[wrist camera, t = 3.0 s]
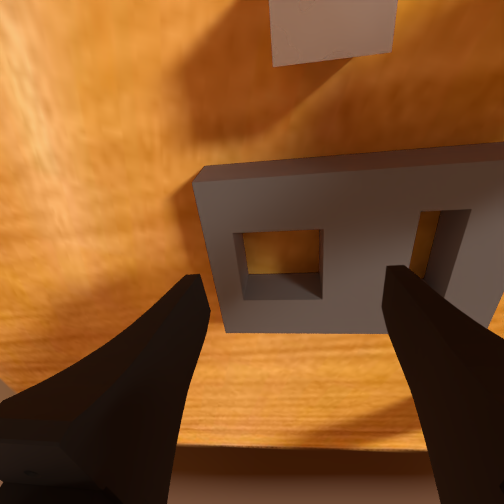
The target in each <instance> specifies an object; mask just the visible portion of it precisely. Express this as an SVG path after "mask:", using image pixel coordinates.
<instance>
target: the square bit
mask: <svg viewBox="0 0 504 504" xmlns="http://www.w3.org/2000/svg"><path fill="white" fill-rule="evenodd" d="M397 2H398V0H269V12H270V28H271V44H272V61H273V67H278V66H286V65H294V64H302V63H310V62H318V61H326V60H334V59H342V58H350V57H358V56H366V55H374V54H382V53H389V52H392V44H393V36H394V28H395V19H396V11H397Z"/></svg>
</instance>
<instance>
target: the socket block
mask: <svg viewBox="0 0 504 504" xmlns="http://www.w3.org/2000/svg"><path fill="white" fill-rule="evenodd" d="M192 186H193V190H194V195H195V199H196V204H197V208H198V212H199V217H200V221H201V226H202V230H203V234H204V239H205V243H206V248H207V252H208V256H209V261H210V265H211V270H212V274H213V279H214V283H215V287H216V292H217V296H218V301H219V305H220V309H221V314H222V318H223V323H224V327H225V331H226V333H323V334H388V332H387V328H386V324H385V320H384V316H383V312H382V308H381V305H382V297H383V289H384V281H385V273H386V266H390V265H405V266H406V267H407V268H409V265H410V260H411V256H412V251H413V246H414V241H415V237H416V232H417V227H418V222H419V218H420V213H421V212H422V211H441V214H440V218H439V221H438V225H437V229H436V233H435V237H434V241H433V245H432V249H431V253H430V257H429V261H428V265H427V269H426V273H425V277H424V279H422V280H423V281H424V282H425V283H426V284H427V285H429V286H430V287H431V288H432V289H433V290H435V291H436V292H437V293H438V294H440V295H441V296H442V297H443V298H445V299H446V300H447V301H449V302H450V303H451V304H452V305H454V306H455V307H456V308H458V309H459V310H461V311H462V312H463V313H465V314H466V315H468V316H469V317H470V318H472V319H473V320H475V321H476V322H478V323H479V324H481V325H482V326H484V327H485V328H488V326H489V324H490V321H491V319H492V317H493V315H494V312H495V310H496V308H497V306H498V303H499V301H500V299H501V297H502V294H503V292H504V142H496V143H484V144H472V145H459V146H447V147H434V148H422V149H409V150H397V151H385V152H372V153H360V154H347V155H335V156H322V157H310V158H298V159H285V160H273V161H260V162H248V163H235V164H223V165H211V166H204V167H203V169H202V170H201V171H200V173H199V174H198V175H197V176H196V178H195V179H194V180H193V182H192ZM314 229H319V273H285V274H248V268H247V261H246V254H245V247H244V240H243V233H248V232H270V231H292V230H314Z"/></svg>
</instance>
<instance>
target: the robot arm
mask: <svg viewBox="0 0 504 504" xmlns="http://www.w3.org/2000/svg"><path fill="white" fill-rule="evenodd" d="M381 308H382V312H383V316H384V320H385V324H386V328H387V332H388V334H389V337H390V339H391V342H392V345H393V347H394V350H395V352H396V355H397V357H398V360H399V362H400V365H401V367H402V370H403V372H404V375H405V377H406V380H407V382H408V385H409V388H410V390H411V393H412V396H413V399H414V402H415V406H416V410H417V413H418V417H419V420H420V424H421V427H422V431H423V435H424V438H425V442H426V446H427V450H428V453H429V457H430V461H431V465H432V469H433V473H434V477H435V482H436V486H437V490H438V494H439V497H440V502H441V504H504V339H503V338H501V337H500V336H498V335H496V334H495V333H493V332H491V331H490V330H488V329H487V328H485V327H484V326H482V325H481V324H479V323H478V322H476V321H475V320H473V319H472V318H470V317H469V316H468V315H466V314H465V313H463V312H462V311H461V310H459V309H458V308H456V307H455V306H454V305H452V304H451V303H450V302H449V301H447V300H446V299H445V298H443V297H442V296H441V295H440V294H438V293H437V292H436V291H435V290H433V289H432V288H431V287H430V286H429V285H427V284H426V283H425V282H424V281H423V280H422V279H420V278H419V277H418V276H417V275H416V274H414V273H413V272H412V271H411V270H410V269H409V268H407V267H406V266H405V265H390V266H386V273H385V281H384V289H383V297H382V305H381ZM210 312H211V310H210V307H209V303H208V300H207V296H206V293H205V290H204V286H203V283H202V279H201V276H200V274H191V275H185V276H184V277H183V278H182V279H181V280H180V281H178V282H177V283H176V284H175V285H174V286H173V287H172V288H171V289H170V290H169V291H168V292H167V293H166V294H165V295H164V296H163V297H162V298H161V299H160V300H159V301H158V302H156V303H155V304H154V305H153V306H152V307H151V308H150V309H149V310H148V311H147V312H145V313H144V314H143V315H142V316H141V317H140V318H138V319H137V320H136V321H135V322H134V323H133V324H131V325H130V326H129V327H128V328H126V329H125V330H124V331H123V332H121V333H120V334H119V335H117V336H116V337H115V338H113V339H112V340H110V341H109V342H108V343H106V344H105V345H103V346H102V347H100V348H99V349H97V350H96V351H94V352H92V353H91V354H89V355H88V356H86V357H85V358H83V359H82V360H80V361H78V362H77V363H75V364H73V365H72V366H70V367H68V368H66V369H65V370H63V371H61V372H59V373H57V374H56V375H54V376H52V377H50V378H48V379H46V380H44V381H43V382H41V383H39V384H37V385H35V386H32V387H30V388H28V389H26V390H24V391H22V392H20V393H18V394H16V395H14V396H12V397H10V398H8V399H5V400H3V401H2V402H1V403H0V480H1V481H3V484H2V485H1V487H0V504H167V499H168V492H169V486H170V479H171V473H172V467H173V460H174V455H175V450H176V444H177V439H178V434H179V429H180V424H181V419H182V415H183V410H184V406H185V401H186V397H187V392H188V389H189V385H190V382H191V379H192V376H193V373H194V370H195V367H196V364H197V361H198V358H199V355H200V352H201V349H202V346H203V343H204V340H205V336H206V333H207V328H208V323H209V318H210Z"/></svg>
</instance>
